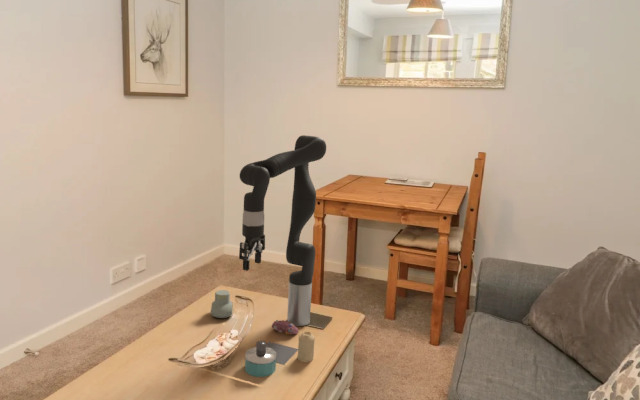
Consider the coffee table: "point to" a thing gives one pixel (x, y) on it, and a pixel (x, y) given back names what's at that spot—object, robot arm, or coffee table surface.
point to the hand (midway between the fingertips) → (252, 266)
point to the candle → (306, 347)
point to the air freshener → (222, 305)
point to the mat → (282, 352)
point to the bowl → (260, 368)
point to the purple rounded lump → (285, 327)
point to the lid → (260, 354)
